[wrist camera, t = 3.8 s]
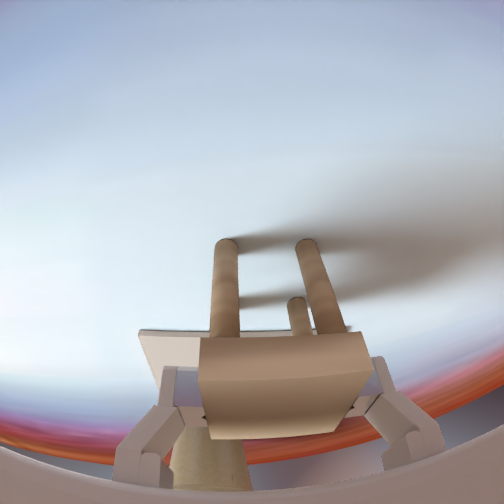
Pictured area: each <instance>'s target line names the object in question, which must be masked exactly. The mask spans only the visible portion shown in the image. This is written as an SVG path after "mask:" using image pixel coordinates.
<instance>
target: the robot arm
mask: <svg viewBox="0 0 504 504" xmlns="http://www.w3.org/2000/svg"><path fill="white" fill-rule="evenodd" d="M370 358H371V361H372V364H373V367H374V371H373V373H372V374H371V376H370V378H369V379H368V381H367V382H366V384H365V386H364V387H363V389H362V390H361V392H360V393H359V395H358V396H357V398H356V399H355V401H354V402H353V404H352V406H351V407H350V408H349V410H348V411H347V413H346V414H345V416H344V418H347V417H355V416H362V415H364V417H365V418H366V419H367V420H368V421H369V422H370V423H371V424H372V426H373V427H374V428H375V429H376V430H377V431H378V432H379V433H380V434H381V435H382V436H383V438H384V439H385V440H386V441H387V442H388V443H389V444H390V445H391V447H390V448H389V449H388V450H386V451H385V452H384V453H383V454H382V456H381V457H382V462H383V466H384V471H383V472H379V473H375V474H371V475H367V476H363V477H359V478H354V479H349V480H344V481H339V482H333V483H328V484H321V485H314V486H307V487H300V488H291V489H280V490H266V491H244V492H210V491H188V490H175V489H173V483H174V472H173V471H172V470H171V469H170V468H169V467H168V465H167V464H166V463H165V462H164V461H163V459H164V457H165V456H166V455H167V453H168V452H169V450H170V449H171V448H172V446H173V445H174V443H175V442H176V441H177V439H178V438H179V436H180V435H181V433H182V432H183V431H184V429H185V426H189V427H208V423H207V419H206V416H205V410H204V406H203V402H202V398H201V393H200V389H199V384H198V367H185V366H164V367H163V370H162V376H161V384H160V391H159V399H158V405H154V406H153V407H152V408H151V409H150V410H149V411H148V413H147V414H146V415H145V416H144V417H143V418H142V419H141V420H140V422H139V423H138V424H137V425H136V426H135V427H134V428H133V429H132V431H131V432H130V433H129V434H128V435H127V436H126V437H125V438H124V439H123V441H122V442H121V443H120V444H119V445H118V446H117V447H116V454H115V461H114V469H113V478H112V481H111V480H106V479H102V478H97V477H93V476H89V475H84V474H81V473H77V472H73V471H69V470H66V469H62V468H59V467H56V466H52V465H49V464H46V463H43V462H40V461H37V460H35V459H32V458H29V457H26V456H24V455H21V454H18V453H16V452H13V451H11V450H8V449H6V448H4V447H1V446H0V504H504V424H503V425H502V426H500V427H498V428H496V429H494V430H492V431H490V432H488V433H486V434H484V435H482V436H479V437H477V438H475V439H473V440H471V441H468V442H467V443H464V444H462V445H459V446H457V447H454V448H453V449H450V450H447V449H446V446H445V443H444V440H443V437H442V434H441V432H440V428H439V425H438V423H437V422H436V421H435V420H434V419H432V418H431V417H430V416H429V415H428V414H426V413H425V412H424V411H423V410H422V409H420V408H419V407H418V406H417V405H416V404H415V403H413V402H412V401H411V400H410V399H409V398H407V397H406V396H405V395H404V394H403V393H402V392H400V391H396V389H395V387H394V384H393V381H392V378H391V375H390V373H389V370H388V367H387V365H386V362H385V359H384V358H383V357H382V356H377V357H370Z"/></svg>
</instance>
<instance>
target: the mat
mask: <svg viewBox="0 0 504 504" xmlns="http://www.w3.org/2000/svg"><path fill="white" fill-rule="evenodd" d="M312 331H313V335H317V331H316V329H315V330H312ZM209 333H210V332H174V331H147V330H139V333H138V337H139V340H140V343H141V345H142V348H143V351H144V353H145V356H146V359H147V361H148V364H149V366H150V369H151V371H152V374H153V376H154V379H155V381H156V384H157V386H158V388H159V391H160V384H161V376H162V370H163V367H164V366H185V367H199V352H200V337H206V338H209ZM280 336H292V331H268V332H240V337H280Z"/></svg>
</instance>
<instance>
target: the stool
mask: <svg viewBox="0 0 504 504" xmlns="http://www.w3.org/2000/svg"><path fill="white" fill-rule="evenodd" d="M295 251H296V255H297V259H298V262H299V266H300V270H301V273H302V277H303V281H304V285H305V288H306V292H307V296H308V300H309V304H310V308H311V312H312V315H313V319H314V323H315V327H316V331H317V335H313V331H312V327H311V323H310V319H309V314H308V310H307V306H306V302H305V300H304V299H303V298H300V297H296V298H292V299H290V300H289V301H288V303H287V309H288V315H289V320H290V326H291V331H292V336H280V337H240V320H239V290H238V255H237V245H236V243H235V242H234V241H232V240H230V239H222V240H220V241H218V242H217V243H216V245H215V250H214V265H213V280H212V296H211V313H210V333H209V338H206V337H200V352H199V367H198V384H199V389H200V393H201V398H202V402H203V406H204V410H205V416H206V419H207V423H208V428H209V433H210V437H211V439H261V438H278V437H291V436H301V435H311V434H319V433H327V432H333V431H334V430H335V428H336V427H337V426H338V424H339V423H340V421H341V420H342V419H343V417H344V416H345V414H346V413H347V411H348V410H349V408H350V407H351V406H352V404H353V402H354V401H355V399H356V398H357V396H358V395H359V393H360V392H361V390H362V389H363V387H364V386H365V384H366V382H367V381H368V379H369V378H370V376H371V374H372V373H373V371H374V367H373V364H372V361H371V358H370V355H369V353H368V350H367V347H366V344H365V341H364V338H363V336H362V333H361V331H359V332H348V333H347V330H346V327H345V324H344V321H343V318H342V315H341V312H340V309H339V306H338V303H337V301H336V298H335V295H334V292H333V289H332V286H331V283H330V280H329V278H328V275H327V272H326V269H325V267H324V264H323V261H322V258H321V256H320V253H319V250H318V248H317V245H316V243H315V242H314V241H313V240H311V239H304V240H302V241H300V242H299V243H298V244H297V245H296V247H295Z"/></svg>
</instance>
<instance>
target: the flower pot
mask: <svg viewBox="0 0 504 504" xmlns="http://www.w3.org/2000/svg"><path fill="white" fill-rule="evenodd" d="M169 468H170V469H171V470H172V471H173V472H174V483H173V489H175V490H188V491H210V492H244V491H253V488H252V483H251V480H250V475H249V471H248V466H247V462H246V457H245V453H244V448H243V443H242V439H211V437H210V433H209V428H208V427H189V426H185V429H184V431H183V432H182V433H181V435H180V436H179V438H178V439H177V441H176V442H175V443H174V447H173V452H172V457H171V462H170V466H169Z"/></svg>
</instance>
